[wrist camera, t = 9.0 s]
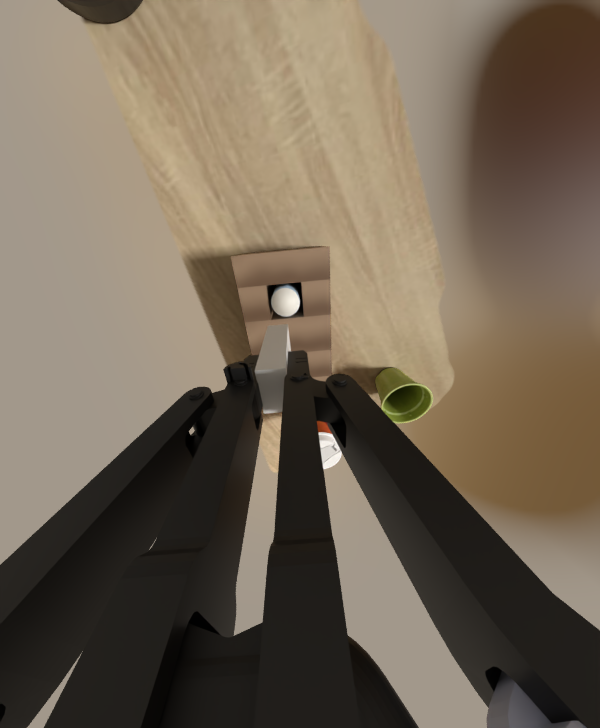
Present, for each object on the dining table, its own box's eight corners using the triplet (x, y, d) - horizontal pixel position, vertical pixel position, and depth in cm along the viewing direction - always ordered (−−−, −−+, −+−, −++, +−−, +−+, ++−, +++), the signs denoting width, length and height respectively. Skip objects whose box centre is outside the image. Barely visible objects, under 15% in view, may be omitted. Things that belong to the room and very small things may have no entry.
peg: (274, 278, 37) (268, 288, 28) (297, 276, 36) (298, 286, 28) (277, 301, 38) (273, 318, 30) (299, 299, 38) (301, 315, 30)
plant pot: (410, 392, 50) (431, 418, 42) (368, 400, 50) (382, 427, 43) (410, 356, 45) (434, 379, 37) (365, 365, 46) (380, 389, 38)
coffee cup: (317, 379, 47) (327, 431, 34) (337, 402, 50) (353, 458, 37) (287, 398, 49) (285, 454, 36) (308, 419, 53) (313, 478, 39)
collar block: (246, 253, 35) (230, 256, 26) (320, 246, 35) (329, 246, 26) (267, 370, 46) (261, 400, 37) (324, 365, 45) (332, 394, 37)
